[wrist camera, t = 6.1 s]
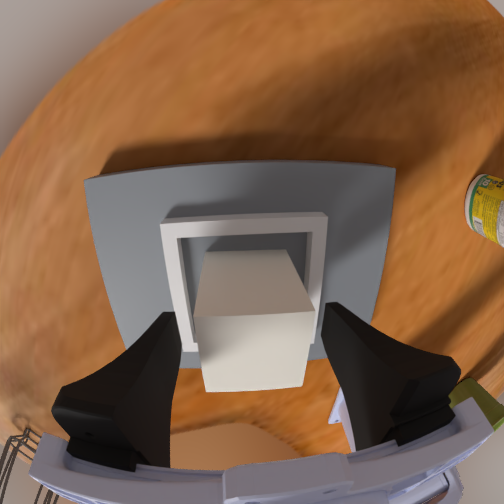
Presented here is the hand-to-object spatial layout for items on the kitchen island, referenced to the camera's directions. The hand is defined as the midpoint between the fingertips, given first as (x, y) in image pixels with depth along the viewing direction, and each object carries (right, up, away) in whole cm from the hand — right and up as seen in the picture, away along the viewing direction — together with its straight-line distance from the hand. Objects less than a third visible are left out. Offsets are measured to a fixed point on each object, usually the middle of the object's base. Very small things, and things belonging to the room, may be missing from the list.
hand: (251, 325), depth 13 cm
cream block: (0, +1, +4) cm, 4 cm away
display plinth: (0, +2, +5) cm, 6 cm away
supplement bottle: (+20, +8, +5) cm, 22 cm away
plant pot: (+34, -20, +18) cm, 43 cm away
